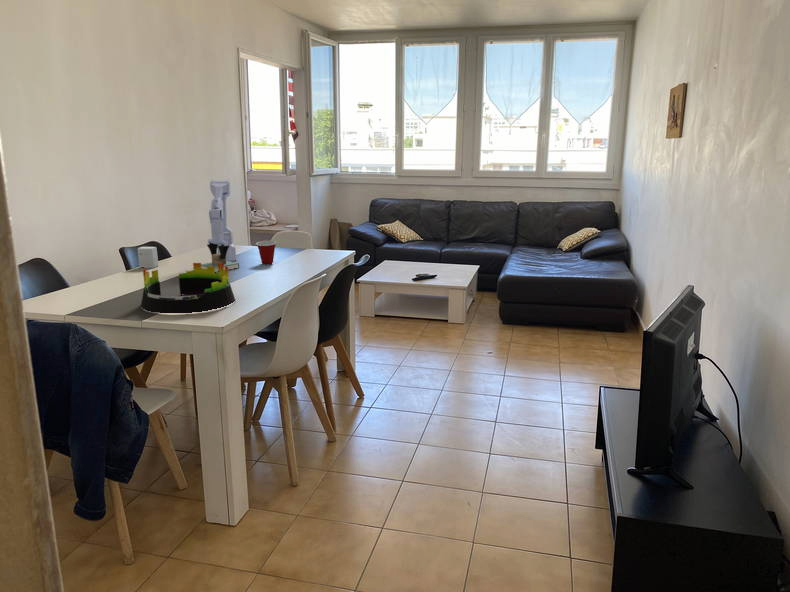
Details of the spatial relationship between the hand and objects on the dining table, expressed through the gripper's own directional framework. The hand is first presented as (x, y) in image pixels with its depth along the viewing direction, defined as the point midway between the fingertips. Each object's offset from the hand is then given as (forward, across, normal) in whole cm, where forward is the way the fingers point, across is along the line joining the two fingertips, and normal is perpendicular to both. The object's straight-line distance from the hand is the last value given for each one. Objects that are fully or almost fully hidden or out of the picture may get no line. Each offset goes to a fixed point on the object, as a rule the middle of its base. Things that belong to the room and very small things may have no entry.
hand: (218, 258), depth 319 cm
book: (+6, 0, 0) cm, 6 cm away
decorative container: (+6, +50, -51) cm, 72 cm away
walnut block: (+3, 0, 0) cm, 3 cm away
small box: (+6, -32, -21) cm, 39 cm away
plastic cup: (+6, +8, +25) cm, 27 cm away
